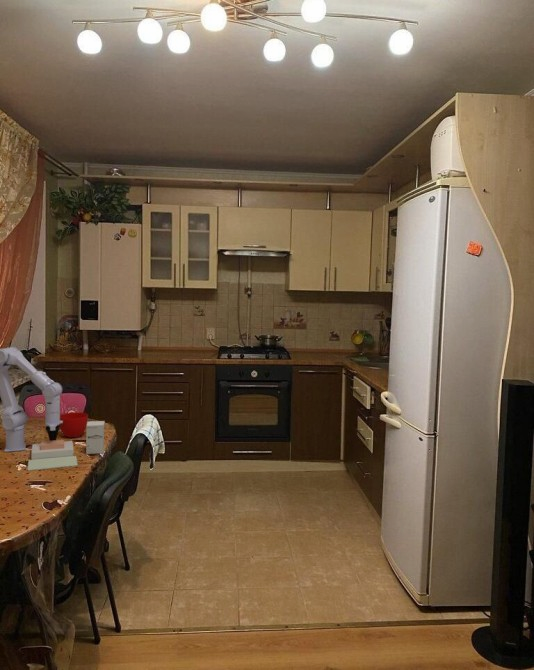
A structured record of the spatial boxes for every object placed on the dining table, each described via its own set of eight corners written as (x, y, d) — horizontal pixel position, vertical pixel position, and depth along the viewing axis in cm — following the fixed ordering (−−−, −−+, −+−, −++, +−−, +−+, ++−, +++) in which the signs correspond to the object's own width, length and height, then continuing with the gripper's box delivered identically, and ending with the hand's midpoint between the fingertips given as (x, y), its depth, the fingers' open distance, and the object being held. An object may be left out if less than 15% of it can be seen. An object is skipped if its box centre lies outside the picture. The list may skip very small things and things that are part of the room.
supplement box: (85, 454, 216) (85, 425, 215) (87, 449, 223) (87, 421, 222) (104, 453, 218) (104, 424, 217) (104, 448, 225) (104, 420, 224)
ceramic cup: (95, 431, 252) (95, 411, 251) (80, 440, 235) (80, 419, 234) (70, 429, 253) (70, 409, 252) (53, 439, 236) (53, 418, 236)
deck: (32, 450, 218) (32, 444, 218) (72, 447, 224) (72, 440, 224) (31, 460, 206) (31, 453, 206) (73, 456, 213) (73, 449, 212)
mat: (28, 461, 205) (28, 460, 205) (76, 456, 212) (76, 455, 212) (27, 470, 194) (27, 469, 194) (77, 465, 201) (77, 465, 201)
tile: (41, 446, 216) (41, 441, 216) (64, 444, 219) (64, 439, 219) (41, 450, 210) (41, 445, 210) (64, 448, 214) (64, 443, 214)
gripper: (63, 414, 212) (63, 446, 213) (62, 407, 225) (62, 437, 227) (44, 416, 209) (44, 448, 211) (45, 408, 223) (45, 438, 224)
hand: (52, 442), depth 218 cm, fingers closed
